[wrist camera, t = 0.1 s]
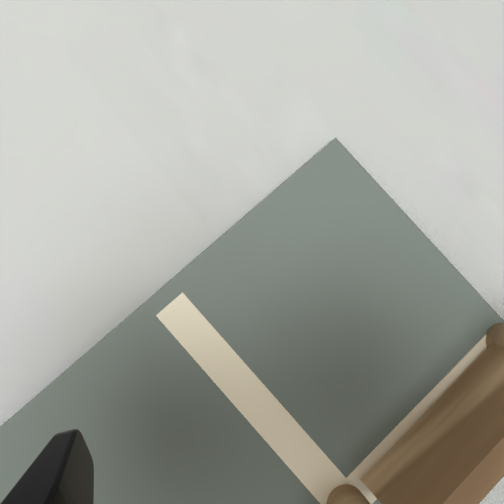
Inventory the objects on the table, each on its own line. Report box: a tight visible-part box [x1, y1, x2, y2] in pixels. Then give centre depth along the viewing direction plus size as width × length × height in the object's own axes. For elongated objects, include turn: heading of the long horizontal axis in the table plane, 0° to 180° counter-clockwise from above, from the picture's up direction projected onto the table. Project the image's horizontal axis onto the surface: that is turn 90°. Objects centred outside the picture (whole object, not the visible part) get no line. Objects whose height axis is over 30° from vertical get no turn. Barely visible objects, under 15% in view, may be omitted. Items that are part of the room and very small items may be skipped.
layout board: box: [0, 138, 504, 504], centre depth 23 cm, size 19×27×1 cm
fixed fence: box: [327, 323, 504, 504], centre depth 20 cm, size 2×14×7 cm, turn 132°
